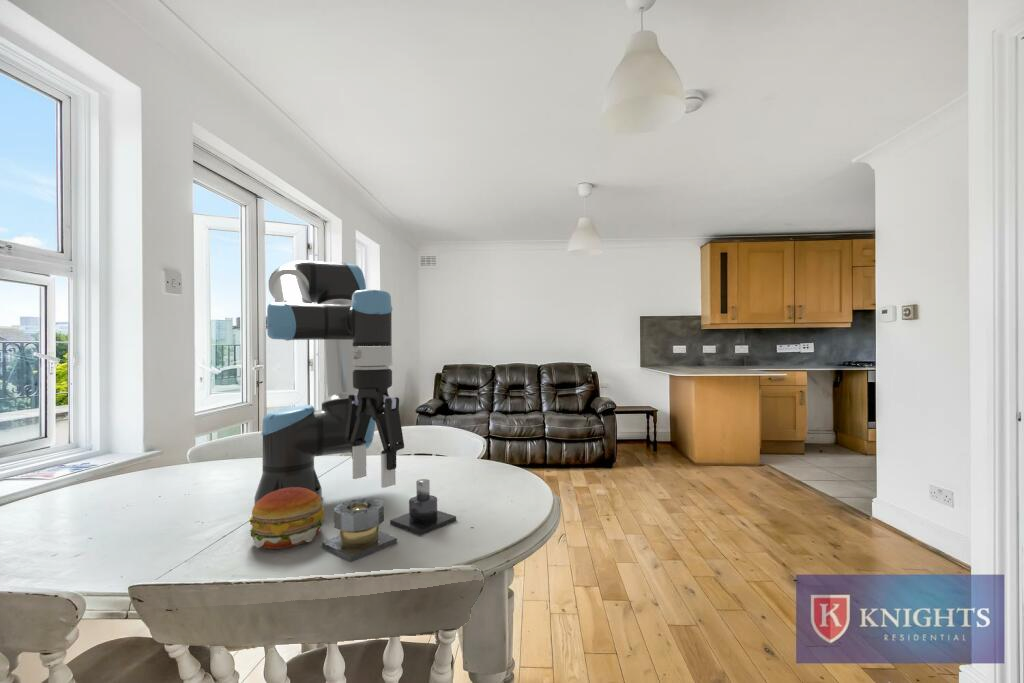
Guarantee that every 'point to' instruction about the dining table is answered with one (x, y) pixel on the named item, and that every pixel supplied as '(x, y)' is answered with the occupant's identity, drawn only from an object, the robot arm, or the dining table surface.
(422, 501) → the stand
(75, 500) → the dining table surface
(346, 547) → the hub
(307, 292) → the robot arm
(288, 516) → the burger
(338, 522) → the grey faceted ring
